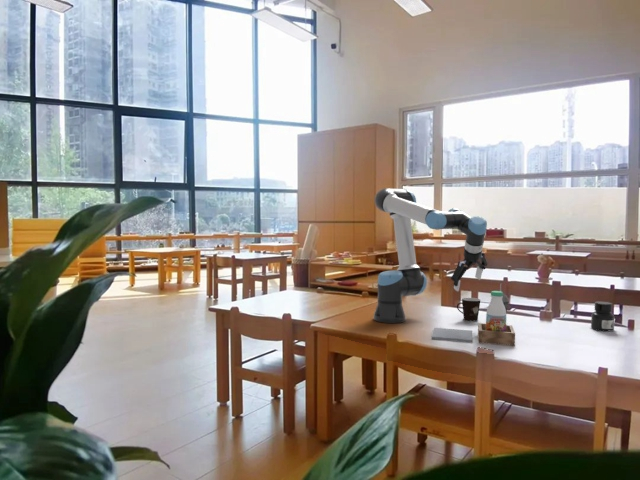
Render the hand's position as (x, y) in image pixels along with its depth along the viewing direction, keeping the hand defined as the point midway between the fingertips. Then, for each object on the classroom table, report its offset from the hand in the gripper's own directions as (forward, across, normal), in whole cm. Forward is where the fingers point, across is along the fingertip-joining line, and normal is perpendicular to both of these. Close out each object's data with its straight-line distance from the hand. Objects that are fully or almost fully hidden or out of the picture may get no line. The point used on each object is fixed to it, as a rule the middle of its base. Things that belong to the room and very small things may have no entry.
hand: (467, 284), depth 220 cm
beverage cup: (+13, +3, -20) cm, 24 cm away
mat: (+1, -26, -19) cm, 32 cm away
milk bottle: (-1, -15, -31) cm, 35 cm away
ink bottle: (+14, +40, -46) cm, 62 cm away
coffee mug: (+20, -1, -4) cm, 21 cm away
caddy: (-1, -15, -31) cm, 34 cm away
